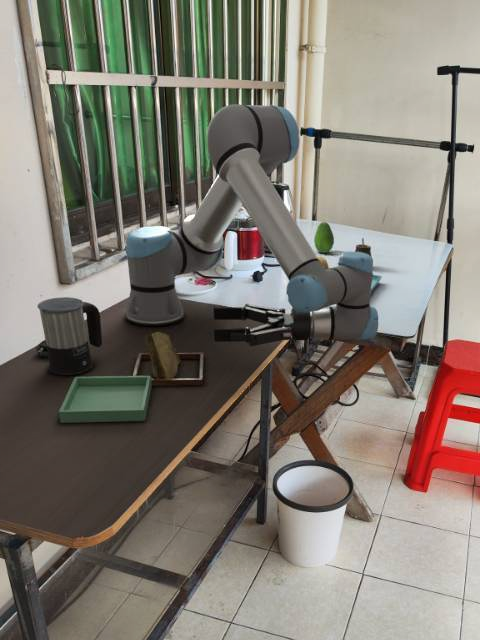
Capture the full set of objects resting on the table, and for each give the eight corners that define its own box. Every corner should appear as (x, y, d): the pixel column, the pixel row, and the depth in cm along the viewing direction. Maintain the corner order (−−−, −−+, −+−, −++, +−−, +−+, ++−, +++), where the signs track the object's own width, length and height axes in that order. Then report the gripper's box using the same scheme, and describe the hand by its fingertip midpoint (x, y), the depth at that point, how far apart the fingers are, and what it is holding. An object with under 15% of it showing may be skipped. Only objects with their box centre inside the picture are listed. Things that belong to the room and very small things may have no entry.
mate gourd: (354, 270, 218) (357, 242, 213) (349, 264, 225) (351, 237, 220) (373, 270, 220) (376, 242, 215) (367, 264, 226) (369, 238, 221)
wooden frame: (139, 358, 138) (138, 352, 138) (203, 357, 141) (203, 352, 140) (131, 386, 126) (131, 380, 125) (202, 385, 128) (202, 379, 127)
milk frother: (79, 378, 127) (69, 312, 120) (12, 369, 129) (-2, 304, 122) (110, 354, 140) (103, 293, 132) (49, 346, 142) (38, 285, 134)
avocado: (309, 251, 238) (311, 221, 233) (323, 249, 243) (325, 219, 237) (323, 256, 234) (325, 225, 228) (337, 253, 238) (339, 223, 232)
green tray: (76, 386, 124) (74, 376, 123) (151, 385, 127) (151, 375, 125) (60, 423, 111) (58, 411, 110) (144, 420, 113) (143, 409, 112)
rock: (165, 347, 139) (131, 354, 131) (182, 324, 134) (148, 330, 126) (190, 384, 138) (157, 393, 130) (208, 362, 132) (175, 370, 125)
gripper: (316, 360, 124) (214, 362, 121) (301, 320, 145) (214, 320, 142) (318, 327, 120) (213, 327, 117) (302, 290, 142) (213, 290, 138)
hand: (213, 323), depth 129 cm, fingers open, 13 cm apart
